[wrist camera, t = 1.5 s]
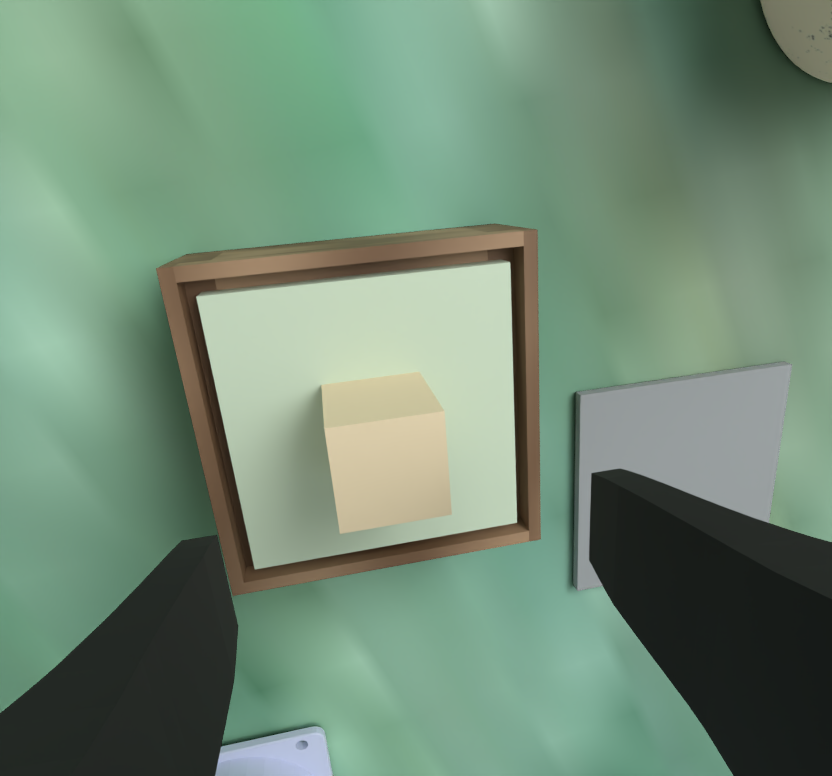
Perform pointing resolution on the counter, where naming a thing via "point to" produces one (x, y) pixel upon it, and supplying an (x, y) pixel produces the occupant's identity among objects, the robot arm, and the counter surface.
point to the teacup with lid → (803, 33)
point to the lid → (367, 407)
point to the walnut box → (339, 260)
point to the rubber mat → (683, 441)
